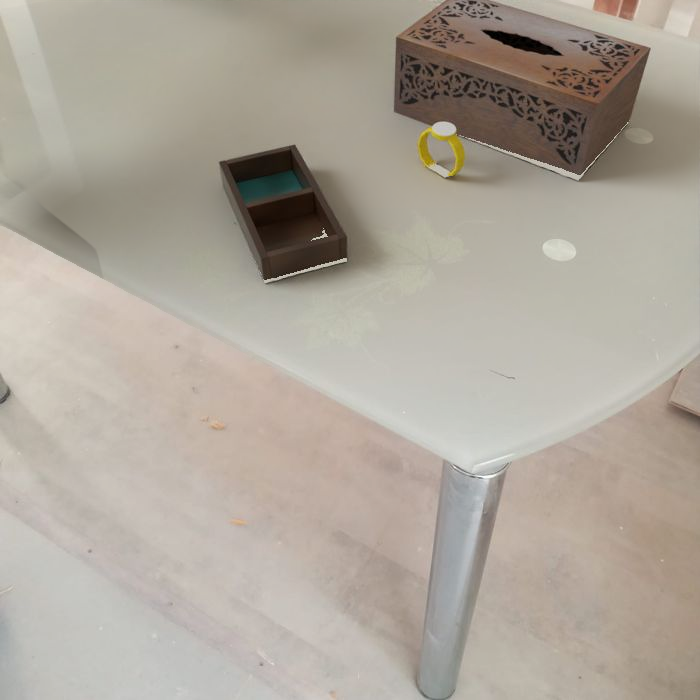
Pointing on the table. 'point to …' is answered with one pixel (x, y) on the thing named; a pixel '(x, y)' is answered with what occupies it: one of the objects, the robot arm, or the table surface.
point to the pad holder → (282, 211)
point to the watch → (444, 133)
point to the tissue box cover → (518, 80)
